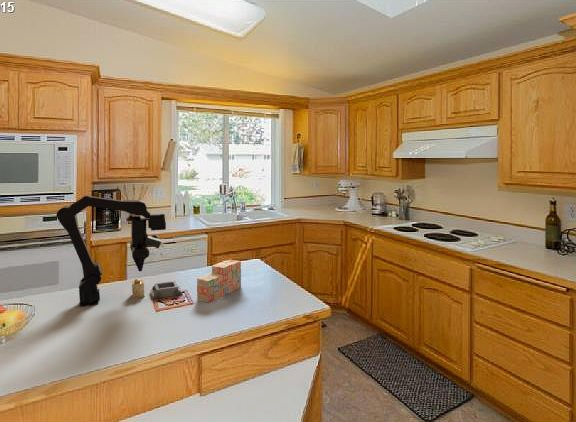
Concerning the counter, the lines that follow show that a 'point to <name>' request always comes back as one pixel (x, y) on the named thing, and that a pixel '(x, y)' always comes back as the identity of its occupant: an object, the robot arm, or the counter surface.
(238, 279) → the stack of blocks
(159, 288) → the chassis
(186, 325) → the counter surface
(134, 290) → the brass knobbed block
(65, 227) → the robot arm
